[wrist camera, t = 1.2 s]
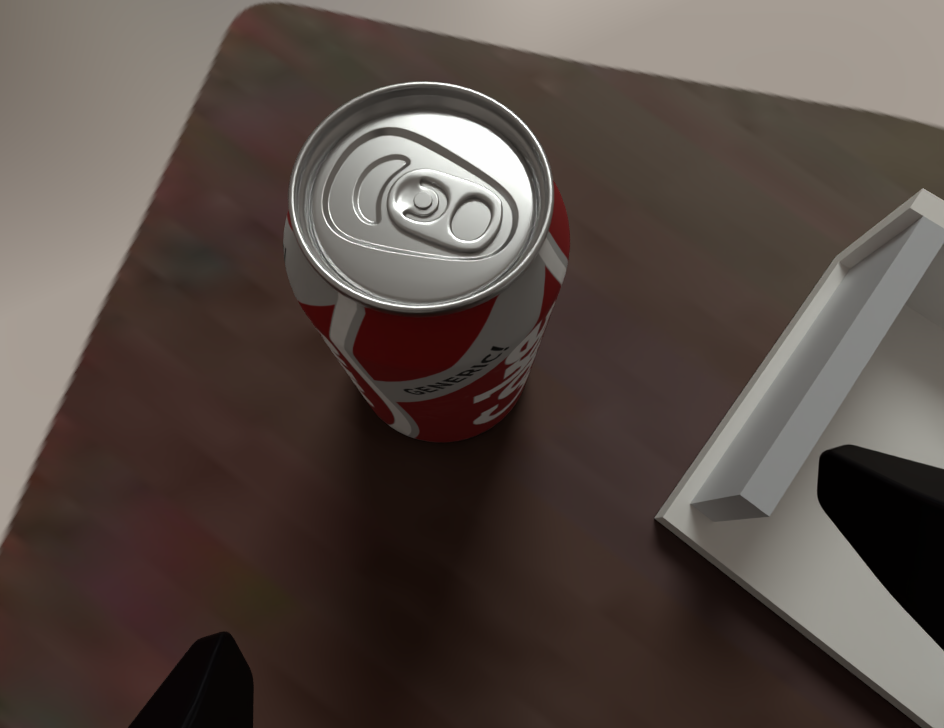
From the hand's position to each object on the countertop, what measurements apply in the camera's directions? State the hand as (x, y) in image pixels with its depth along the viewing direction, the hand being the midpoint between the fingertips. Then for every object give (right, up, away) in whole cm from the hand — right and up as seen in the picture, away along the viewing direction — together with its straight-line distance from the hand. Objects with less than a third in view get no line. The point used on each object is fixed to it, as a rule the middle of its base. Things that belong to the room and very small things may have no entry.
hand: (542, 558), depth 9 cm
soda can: (-2, +3, +15) cm, 16 cm away
